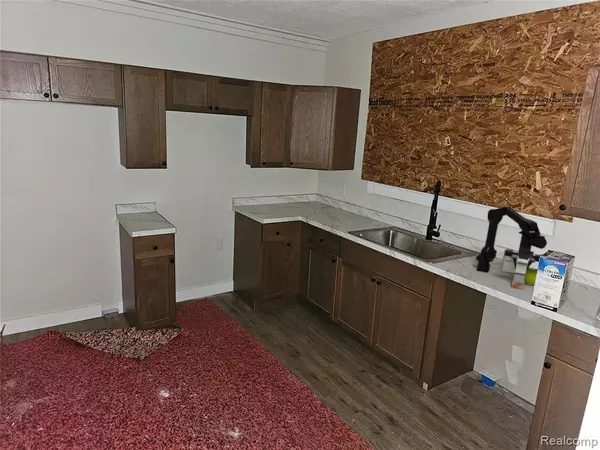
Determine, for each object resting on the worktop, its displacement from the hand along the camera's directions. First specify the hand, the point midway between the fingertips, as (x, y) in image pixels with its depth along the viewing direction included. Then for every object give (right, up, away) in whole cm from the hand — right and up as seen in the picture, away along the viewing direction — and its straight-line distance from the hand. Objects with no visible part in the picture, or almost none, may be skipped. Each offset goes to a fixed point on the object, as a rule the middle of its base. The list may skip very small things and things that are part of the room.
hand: (520, 270), depth 228 cm
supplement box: (+8, -4, +30) cm, 31 cm away
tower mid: (0, -6, +1) cm, 6 cm away
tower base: (-1, -10, +2) cm, 10 cm away
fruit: (+9, -9, +8) cm, 16 cm away
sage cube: (0, -1, 0) cm, 1 cm away
